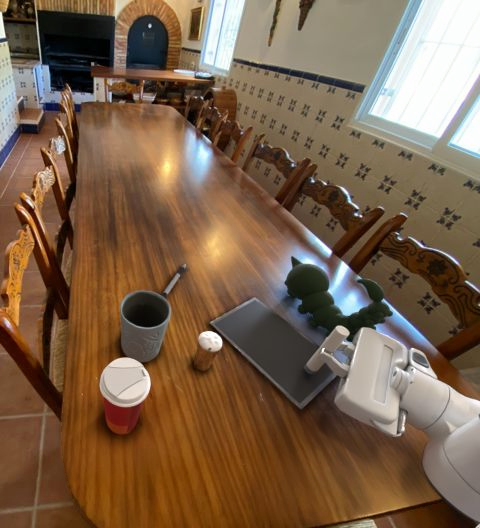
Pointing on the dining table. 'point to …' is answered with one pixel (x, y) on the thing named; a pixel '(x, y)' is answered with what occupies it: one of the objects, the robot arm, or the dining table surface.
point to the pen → (173, 281)
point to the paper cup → (124, 393)
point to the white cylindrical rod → (327, 348)
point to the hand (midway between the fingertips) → (322, 346)
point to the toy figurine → (322, 302)
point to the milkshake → (207, 350)
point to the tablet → (274, 350)
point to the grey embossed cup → (143, 324)
